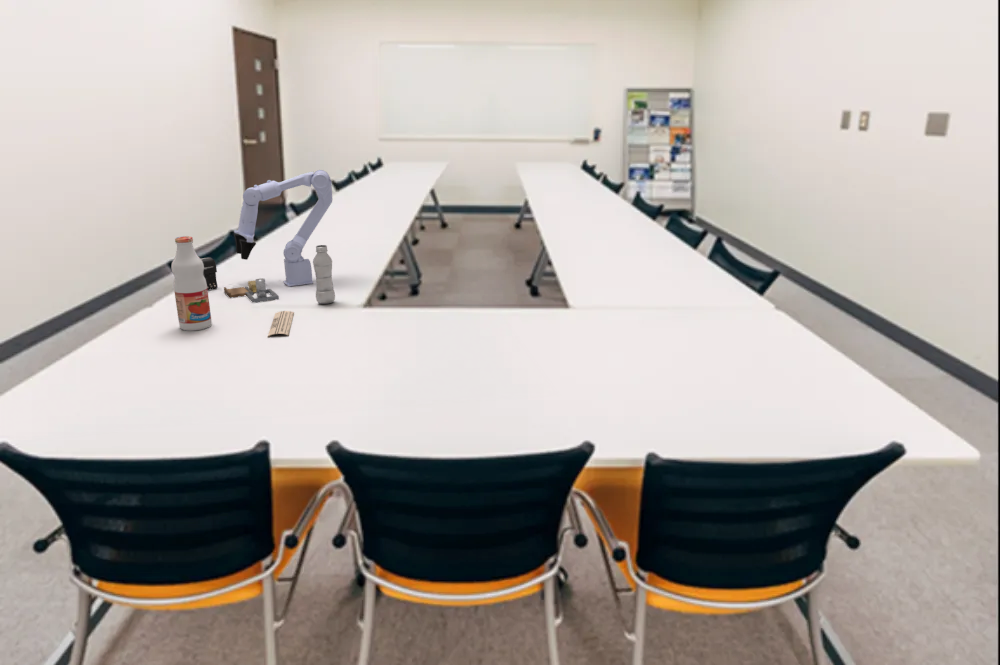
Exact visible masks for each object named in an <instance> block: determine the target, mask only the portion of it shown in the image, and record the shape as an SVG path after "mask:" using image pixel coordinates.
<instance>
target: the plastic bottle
mask: <svg viewBox="0 0 1000 665" xmlns="http://www.w3.org/2000/svg"><path fill="white" fill-rule="evenodd" d="M315 253H316V254H315V256H314V257H313V260H312V265H313V269H314V274H315V281H316V283H315V286H316V287H315V288H316V289H315V299H316V302H317V303H318V304H321V305H323V304H324V305H327V304H332V303H334V302H335V299H336V294H335V289H334V284H333V260H332V257H331V256H330V255H329V253H328V245H326V244H320V245H316V246H315Z"/></svg>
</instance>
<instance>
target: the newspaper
mask: <svg viewBox="0 0 1000 665" xmlns="http://www.w3.org/2000/svg"><path fill="white" fill-rule="evenodd" d="M294 316H295V312H294V311H291V310H281V311H277V312H275V313H274V316H273V320H272V322H271V326H270V328H269V331H268V334H267V338H270V337H271V336H274V335H285V336H286V337H289V336H290V331H291V328H292V324H293V321H294Z"/></svg>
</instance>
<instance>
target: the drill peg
mask: <svg viewBox="0 0 1000 665" xmlns="http://www.w3.org/2000/svg"><path fill="white" fill-rule="evenodd" d="M254 281H256V291H257V292H256V298H262V297H268V296H267V293H266V289H267V287H266V279H265V278H261V277H259V278H255V280H254Z"/></svg>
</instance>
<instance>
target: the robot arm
mask: <svg viewBox="0 0 1000 665" xmlns="http://www.w3.org/2000/svg"><path fill="white" fill-rule="evenodd" d="M300 186H304V187H305V186H306V187H309V188H311V187H313V189H314V190H315V191H316V195H317V198H318V200H317V201H316V203H315V205H314V206H313V207H312V209H311V211H310V212H309V214H308V216H307V217H306V218H305V220H304V221H303V223H302V225H301V226H300V228H299V229H298V231H297V233H296V234H295V235H294V237H293V238H292V239H291V240H290V241H287V243H286V244H285V245H284V246H285V247H284V249H283V257H284V259H283V261H284V262H283V263H284V274H285V276H284V277H285V280H282V283H284V284H285V285H286V286H287V287H296V286H302V285H303V286H304V285H311V284H313V283H314V281H313V273H312V272H313V270H312V264H311V260H310V259H309V258H305V257H304V256H302V252H303V249H304V247H305V245H306V243H307V242H308V240H309V239H310V237H311V235H312V234H313V232H314V231H315V230H316V228H317V226H318V225H319V223H320V222H321V220H322V218H323V217H324V216H325V214H326V213H327V211H328V209H329V208H330V206H331V204H332V203H333V188H332V187H333V184H332V180H331V177H330V174H329V173H328V172H327V171H325V170H324V169H319V170H316V171H309V172H305V173H301V174H298V175H295V176H293V177H291V178H288V179H285V180H283V181H279V182H278V181H276V180H271V179H268V180H267V181H266V182H264V183H262V184H259V185H257V184H254V185H253V187H248V188H247V189H245V190H244V192H243V194H242V199H243V201H242V206H241V210H240V214H239V215H240V216H239V222H238V228H237V229H234V230H233V236H234V240H235V252H236V254H240V259H241V260H246V261H247V260H248V259H249V257H250V255H251V252H252V250H253V249H254V247H256V245H257V243H256V242H255V241H254V237H255V231H256V224H257V218H258V212H259V210H258V208H259V203H260V201H261V202H264V201H267V200H270V199H274V198H277V197H280V196H281V195H282V192H283V191H286V190H291V189H294V188H297V187H300Z"/></svg>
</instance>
